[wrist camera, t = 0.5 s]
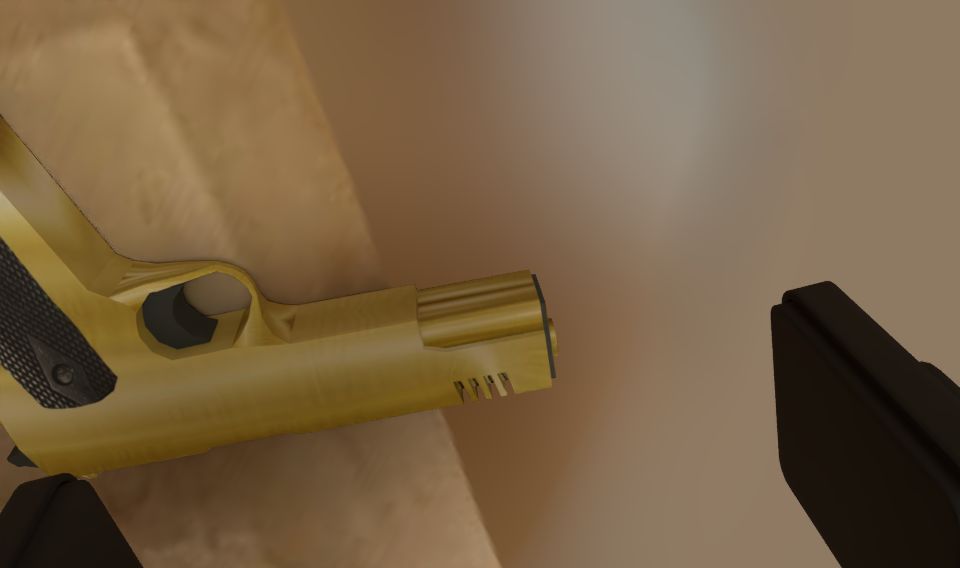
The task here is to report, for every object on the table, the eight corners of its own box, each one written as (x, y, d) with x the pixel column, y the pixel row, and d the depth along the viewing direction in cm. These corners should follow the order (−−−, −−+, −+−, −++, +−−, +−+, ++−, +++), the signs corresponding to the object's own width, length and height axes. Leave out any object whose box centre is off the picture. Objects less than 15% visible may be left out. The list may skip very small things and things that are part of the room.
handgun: (-242, 145, 19) (-20, 504, 25) (514, 6, 20) (566, 394, 25) (-177, 118, 22) (13, 454, 27) (502, -7, 22) (552, 352, 27)
